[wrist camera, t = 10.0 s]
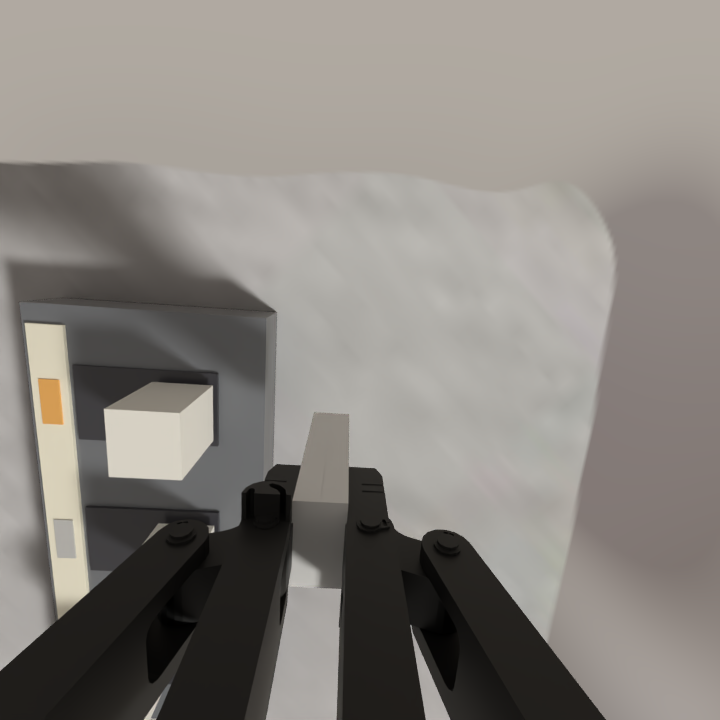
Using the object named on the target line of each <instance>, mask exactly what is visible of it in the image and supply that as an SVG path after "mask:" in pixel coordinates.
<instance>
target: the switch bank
mask: <svg viewBox="0 0 720 720" xmlns="http://www.w3.org/2000/svg"><path fill="white" fill-rule="evenodd" d="M19 305H20V314H21V322H22V331H23V340H24V348H25V357H26V366H27V374H28V383H29V392H30V401H31V409H32V418H33V427H34V435H35V444H36V453H37V462H38V470H39V479H40V488H41V496H42V505H43V514H44V523H45V531H46V540H47V549H48V557H49V566H50V575H51V584H52V592H53V601H54V610H55V618H56V621H57V620H58V619H59V618H61V617H62V616H63V615H64V614H65V613H66V612H67V611H68V610H70V609H71V608H72V607H73V606H74V605H75V604H76V603H77V602H79V601H80V600H81V599H82V598H83V597H84V596H85V595H86V594H88V593H89V592H90V591H91V590H92V589H93V588H94V587H95V586H97V585H98V584H99V583H100V582H101V581H102V580H103V579H104V578H106V577H107V576H108V575H109V574H110V573H111V572H112V571H113V570H115V569H116V568H117V567H118V566H119V565H120V564H121V563H122V562H124V561H125V560H126V559H127V558H128V557H129V556H130V555H131V554H133V553H134V552H135V551H136V550H137V549H138V548H139V547H140V546H142V544H143V543H144V542H145V540H146V539H147V538H148V536H149V535H150V534H151V532H152V531H153V530H154V528H155V527H156V526H157V524H158V523H162V524H170V523H173V522H176V521H180V520H186V519H191V520H199V521H201V522H204V523H205V524H206V525H208V526H214V532H219V531H224V530H229V529H232V528H234V527H237V526H239V524H240V522H241V492H242V491H243V490H244V489H245V488H246V487H248V486H249V485H251V484H253V483H257V482H261V481H265V478H266V475H267V473H268V471H269V470H270V469H272V468H273V449H274V409H275V370H276V330H277V312H266V311H251V310H237V309H222V308H207V307H192V306H177V305H162V304H147V303H132V302H117V301H103V300H88V299H73V298H55V299H44V300H33V301H22V302H19ZM151 382H163V383H180V384H197V385H213V442H212V443H211V444H210V446H209V447H208V448H207V449H206V451H205V452H204V453H203V454H202V456H201V457H200V458H199V459H198V461H197V462H196V463H195V464H194V466H193V467H192V468H191V469H190V471H189V472H188V473H187V475H186V476H185V477H184V478H183V480H162V479H142V478H121V477H109V473H108V459H107V446H106V432H105V418H104V409H105V408H106V407H108V406H110V405H112V404H114V403H115V402H117V401H119V400H121V399H122V398H124V397H126V396H128V395H130V394H131V393H133V392H135V391H137V390H138V389H140V388H142V387H144V386H146V385H147V384H149V383H151ZM175 674H176V673H175ZM174 677H175V675H174V676H173V678H172V679H171V681H170V682H169V683H168V685H167V686H166V688H165V689H164V691H163V692H162V694H161V696H160V699H159V701H158V703H157V705H156V708H155V710H154V712H153V714H152V717H151V718H157V717H158V714H159V712H160V710H161V707H162V705H163V702H164V700H165V698H166V695H167V693H168V691H169V688H170V686H171V684H172V681H173V679H174Z"/></svg>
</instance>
